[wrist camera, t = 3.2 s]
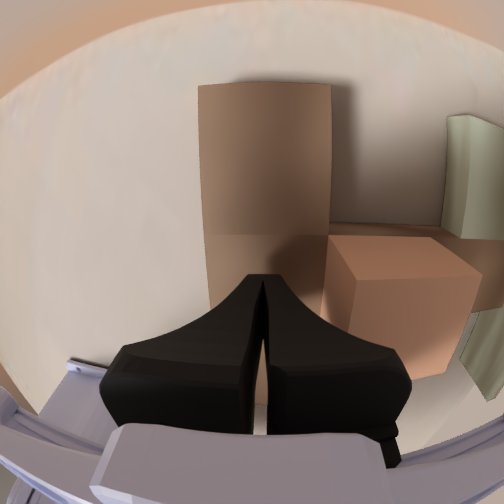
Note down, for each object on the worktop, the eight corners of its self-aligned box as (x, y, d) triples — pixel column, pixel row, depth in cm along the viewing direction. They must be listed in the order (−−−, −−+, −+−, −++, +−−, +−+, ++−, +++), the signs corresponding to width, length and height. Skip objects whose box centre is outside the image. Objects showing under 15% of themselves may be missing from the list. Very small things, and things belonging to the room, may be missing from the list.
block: (318, 327, 12) (333, 390, 9) (328, 234, 11) (356, 280, 7) (410, 321, 12) (443, 372, 8) (430, 237, 11) (482, 274, 7)
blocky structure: (226, 380, 17) (216, 442, 12) (208, 95, 11) (173, 65, 6) (467, 357, 16) (495, 398, 11) (518, 142, 10) (572, 153, 5)
